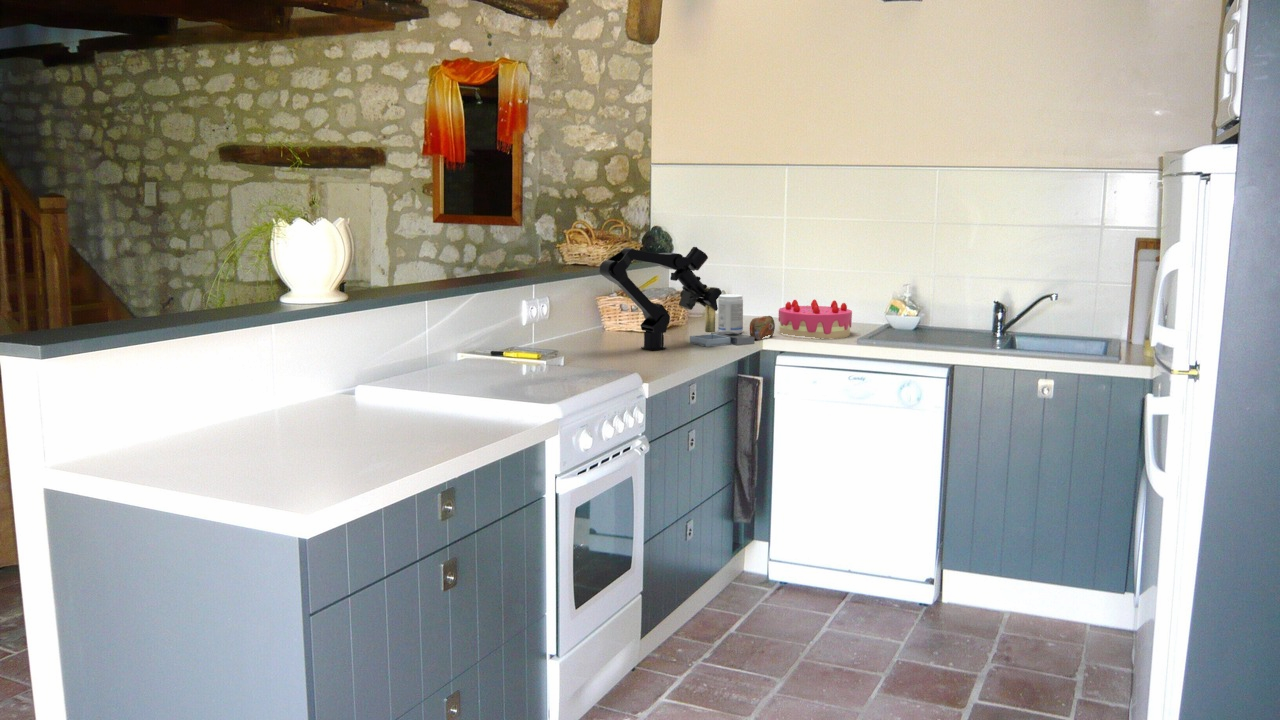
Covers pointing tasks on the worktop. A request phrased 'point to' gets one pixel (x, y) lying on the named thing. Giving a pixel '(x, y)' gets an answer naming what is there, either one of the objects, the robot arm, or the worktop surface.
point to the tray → (710, 340)
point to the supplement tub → (730, 313)
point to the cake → (815, 320)
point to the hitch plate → (737, 338)
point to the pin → (709, 317)
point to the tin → (762, 327)
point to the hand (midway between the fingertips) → (713, 309)
